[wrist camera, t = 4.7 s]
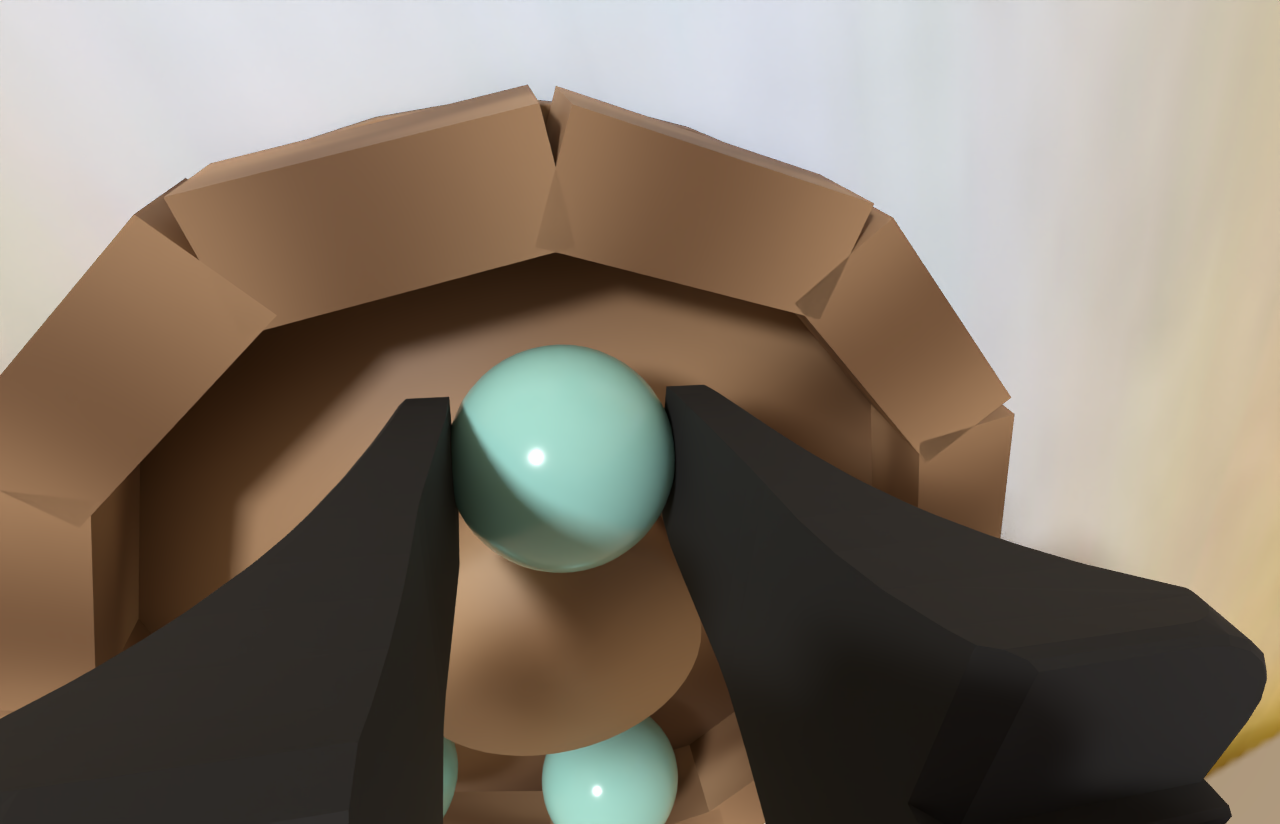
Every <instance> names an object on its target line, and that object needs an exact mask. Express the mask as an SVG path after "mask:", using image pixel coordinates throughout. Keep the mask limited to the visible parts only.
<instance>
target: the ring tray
mask: <svg viewBox="0 0 1280 824" xmlns="http://www.w3.org/2000/svg"><path fill="white" fill-rule="evenodd" d="M873 205H874V203H872V202H870V201H868V200H866V199H864V198H863V197H861V196H859V195H857V194H855V193H853V192H851V191H850V190H848V189H846V188H844V187H842V186H840V185H838V184H837V183H835V182H833V181H831V180H829V179H827V178H825V177H824V176H822V175H820V174H817V173H814V172H811V171H808V170H805V169H802V168H799V167H796V166H793V165H790V164H787V163H784V162H781V161H778V160H775V159H772V158H769V157H766V156H763V155H760V154H757V153H754V152H751V151H748V150H745V149H742V148H739V147H736V146H733V145H730V144H727V143H724V142H722V141H720V140H717V139H715V138H713V137H710V136H708V135H705V134H703V133H701V132H698V131H696V130H694V129H691V128H689V127H686V126H682V125H678V124H674V123H670V122H666V121H662V120H658V119H655V118H651V117H647V116H644V115H641V114H638V113H635V112H632V111H629V110H626V109H623V108H620V107H617V106H614V105H611V104H608V103H605V102H602V101H599V100H596V99H593V98H590V97H587V96H584V95H581V94H578V93H576V92H573V91H570V90H567V89H564V88H561V87H558V86H556V88H555V92H554V96H553V100H552V102H551V101H541V100H537V99H536V97H535V95H534V94H533V92H532V91H531V89H530V88H529V86H528V85H525V86H520V87H516V88H512V89H508V90H504V91H500V92H496V93H492V94H488V95H484V96H480V97H476V98H472V99H468V100H464V101H460V102H456V103H452V104H448V105H442V106H436V107H430V108H425V109H419V110H413V111H407V112H402V113H396V114H390V115H384V116H379V117H374V118H371V119H368V120H365V121H362V122H359V123H356V124H353V125H350V126H346V127H343V128H340V129H337V130H334V131H331V132H328V133H325V134H322V135H319V136H316V137H313V138H310V139H307V140H303V141H299V142H295V143H291V144H287V145H283V146H279V147H275V148H271V149H267V150H263V151H259V152H255V153H251V154H247V155H243V156H239V157H235V158H231V159H227V160H223V161H219V162H215V163H211V164H209V165H208V166H206V167H205V168H204V169H202V170H201V171H199V172H198V173H197V174H195V175H194V176H192V177H191V178H190V179H186V178H185V179H184V180H182V181H181V182H179V183H178V184H177V185H175V186H174V187H172V188H171V189H169V190H168V191H167V192H165V193H164V194H162V195H161V196H160V197H158V198H157V199H155V200H154V201H152V202H151V203H150V204H148V205H147V206H145V207H144V208H142V209H141V210H140V211H138V212H137V213H135V214H134V215H133V216H132V217H131V219H130V220H129V221H128V222H127V223H126V225H125V226H124V227H123V228H122V230H121V231H120V232H119V233H118V234H117V236H116V237H115V238H114V239H113V240H112V242H111V243H110V244H109V245H108V246H107V248H106V249H105V250H104V251H103V252H102V254H101V255H100V256H99V257H98V258H97V260H96V261H95V262H94V263H93V264H92V266H91V267H90V268H89V269H88V270H87V272H86V273H85V274H84V275H83V276H82V278H81V279H80V280H79V281H78V282H77V284H76V285H75V286H74V287H73V288H72V290H71V291H70V292H69V293H68V295H67V296H66V297H65V298H64V299H63V301H62V302H61V303H60V304H59V305H58V307H57V308H56V309H55V310H54V311H53V313H52V314H51V315H50V316H49V317H48V319H47V320H46V321H45V322H44V323H43V325H42V326H41V327H40V328H39V329H38V331H37V332H36V333H35V334H34V335H33V337H32V338H31V339H30V340H29V341H28V343H27V344H26V345H25V346H24V347H23V349H22V350H21V351H20V352H19V353H18V355H17V356H16V357H15V358H14V359H13V361H12V362H11V363H10V364H9V366H8V367H7V368H6V369H5V370H4V372H3V373H2V374H1V375H0V718H2V717H4V716H6V715H8V714H10V713H12V712H14V711H16V710H18V709H20V708H22V707H23V706H25V705H27V704H29V703H31V702H33V701H35V700H37V699H39V698H41V697H43V696H45V695H46V694H48V693H50V692H52V691H54V690H56V689H58V688H60V687H62V686H64V685H66V684H67V683H69V682H71V681H73V680H75V679H76V678H78V677H80V676H82V675H83V674H85V673H87V672H89V671H91V670H92V669H94V668H96V667H98V666H99V665H101V664H103V663H104V662H106V661H108V660H109V659H111V658H113V657H114V656H116V655H118V654H119V653H121V652H123V651H124V650H126V649H128V648H130V647H131V646H133V645H135V644H136V643H138V642H140V641H141V640H143V639H144V638H146V637H148V636H149V635H151V634H152V633H154V632H155V631H157V630H159V629H160V628H162V627H163V626H165V625H166V624H168V623H170V622H171V621H173V620H174V619H176V618H177V617H179V616H180V615H182V614H183V613H185V612H186V611H188V610H189V609H191V608H192V607H193V606H195V605H196V604H198V603H199V602H200V601H202V600H203V599H204V598H206V597H207V596H209V595H210V594H211V593H213V592H214V591H216V590H217V589H218V588H220V587H221V586H223V585H224V584H225V583H227V582H228V581H229V580H231V579H232V578H234V577H235V576H236V575H238V574H239V573H241V572H242V571H243V570H245V569H246V568H247V567H249V566H250V565H251V564H253V563H254V562H255V561H256V560H258V559H259V558H260V557H261V556H263V555H264V554H265V553H266V552H267V551H268V550H270V549H271V548H272V547H273V546H274V545H276V544H277V543H278V542H279V541H280V540H282V539H283V538H284V537H285V536H286V535H287V534H288V533H289V532H290V531H292V530H293V529H294V528H295V527H296V526H297V525H298V524H299V523H300V522H301V521H302V520H303V519H304V518H305V517H306V516H307V515H308V514H309V513H310V512H311V511H312V510H313V509H314V508H315V507H316V506H317V505H318V504H319V503H320V502H321V501H322V500H323V499H324V497H325V496H326V495H327V494H328V493H329V492H330V491H331V490H332V489H333V488H334V487H335V486H336V485H337V484H338V483H339V482H340V481H341V479H342V478H343V477H344V476H345V475H346V474H347V472H348V471H349V470H350V469H351V468H352V466H353V465H354V464H355V463H356V462H357V460H358V459H359V458H360V457H361V456H362V454H363V453H364V452H365V451H366V450H367V448H368V447H369V446H370V445H371V443H372V442H373V441H374V439H375V438H376V437H377V435H378V434H379V433H380V431H381V430H382V429H383V427H384V426H385V425H386V423H387V422H388V420H389V419H390V418H391V416H392V415H393V413H394V412H395V410H396V409H397V408H398V406H399V405H400V404H401V403H402V402H403V401H404V400H405V399H411V398H432V397H449V399H450V411H451V423H452V422H453V419H454V417H455V415H456V412H457V410H458V408H459V406H460V404H461V402H462V400H463V399H464V398H465V396H466V395H467V393H468V392H469V390H470V389H471V388H472V387H473V386H474V384H475V383H476V382H477V381H478V380H479V379H480V378H481V377H482V376H483V375H484V374H485V373H486V372H487V371H489V370H490V369H491V368H492V367H494V366H495V365H497V364H498V363H500V362H501V361H503V360H504V359H506V358H509V357H511V356H513V355H515V354H517V353H520V352H522V351H525V350H528V349H532V348H536V347H541V346H547V345H557V344H560V345H577V346H584V347H588V348H592V349H595V350H599V351H601V352H604V353H606V354H608V355H611V356H613V357H615V358H617V359H618V360H620V361H622V362H623V363H625V364H627V365H628V366H629V367H630V368H632V369H633V370H634V371H636V372H637V373H638V374H639V375H640V376H641V377H642V378H643V379H644V380H645V381H646V382H647V383H648V384H649V385H650V387H651V388H652V389H653V391H654V392H655V394H656V395H657V397H658V398H659V400H660V401H661V403H662V405H663V407H665V396H666V386H685V385H706V386H708V387H709V388H711V389H713V390H715V391H716V392H718V393H720V394H721V395H723V396H724V397H726V398H727V399H729V400H730V401H732V402H733V403H735V404H736V405H738V406H739V407H741V408H742V409H744V410H745V411H747V412H748V413H750V414H751V415H753V416H754V417H756V418H757V419H759V420H760V421H762V422H763V423H765V424H766V425H768V426H769V427H771V428H772V429H774V430H775V431H777V432H778V433H780V434H782V435H783V436H785V437H786V438H788V439H789V440H791V441H793V442H794V443H796V444H797V445H799V446H801V447H802V448H804V449H805V450H807V451H809V452H810V453H812V454H814V455H815V456H817V457H819V458H821V459H822V460H824V461H826V462H828V463H829V464H831V465H833V466H835V467H836V468H838V469H840V470H842V471H844V472H845V473H847V474H849V475H851V476H853V477H855V478H856V479H858V480H860V481H862V482H864V483H866V484H868V485H870V486H872V487H874V488H877V489H879V490H881V491H883V492H885V493H887V494H889V495H891V496H894V497H896V498H898V499H900V500H902V501H904V502H906V503H908V504H911V505H913V506H915V507H918V508H920V509H923V510H925V511H927V512H930V513H932V514H934V515H937V516H940V517H942V518H945V519H948V520H950V521H953V522H955V523H958V524H961V525H963V526H966V527H969V528H971V529H974V530H977V531H979V532H982V533H985V534H988V535H991V536H994V537H997V538H1000V536H1001V527H1002V518H1003V510H1004V501H1005V492H1006V483H1007V474H1008V466H1009V457H1010V448H1011V439H1012V431H1013V422H1014V413H1012V412H1011V411H1010V410H1009V409H1007V408H1006V407H1005V406H1003V405H1002V404H1003V403H1005V402H1006V401H1007V400H1009V399H1010V398H1011V396H1010V395H1009V393H1008V392H1007V390H1006V389H1005V387H1004V386H1003V384H1002V383H1001V381H1000V380H999V378H998V377H997V375H996V374H995V372H994V371H993V369H992V368H991V366H990V365H989V363H988V361H987V360H986V358H985V357H984V355H983V354H982V352H981V351H980V349H979V348H978V346H977V345H976V343H975V342H974V340H973V339H972V337H971V336H970V334H969V333H968V331H967V330H966V328H965V326H964V325H963V323H962V322H961V320H960V319H959V317H958V316H957V314H956V313H955V311H954V310H953V308H952V307H951V305H950V304H949V302H948V301H947V299H946V298H945V296H944V295H943V293H942V292H941V290H940V288H939V287H938V285H937V284H936V282H935V281H934V279H933V278H932V276H931V275H930V273H929V272H928V270H927V269H926V267H925V266H924V264H923V263H922V261H921V260H920V258H919V257H918V255H917V253H916V252H915V250H914V249H913V247H912V246H911V244H910V243H909V241H908V240H907V238H906V237H905V235H904V234H903V232H902V231H901V229H900V228H899V226H898V225H897V223H896V222H895V220H894V218H893V217H891V216H889V215H887V214H885V213H883V212H882V211H880V210H878V209H876V208H874V207H873ZM459 554H460V567H459V577H458V587H457V596H456V606H455V615H454V625H453V634H452V643H451V653H450V662H449V671H448V680H447V690H446V700H445V716H444V738H446V739H448V740H450V741H452V742H454V743H455V747H456V751H457V756H458V777H457V783H456V788H455V792H454V796H453V798H452V801H451V804H450V806H449V808H448V810H447V812H446V814H445V816H444V818H443V824H554V823H553V822H552V820H551V818H550V816H549V814H548V811H547V808H546V805H545V802H544V797H543V791H542V772H543V764H544V760H545V756H546V754H555V753H561V752H566V751H571V750H576V749H579V748H583V747H587V746H590V745H593V744H596V743H599V742H601V741H604V740H607V739H609V738H612V737H614V736H616V735H618V734H620V733H622V732H625V731H626V730H628V729H630V728H632V727H633V726H635V725H637V724H639V723H640V722H642V721H643V720H645V719H646V718H647V717H649V716H650V717H651V718H652V719H653V720H654V721H655V722H656V723H657V724H658V725H659V726H660V727H661V729H662V730H663V731H664V733H665V734H666V736H667V737H668V739H669V741H670V743H671V746H672V748H673V751H674V754H675V758H676V763H677V769H678V786H677V793H676V798H675V802H674V805H673V808H672V811H671V813H670V815H669V817H668V819H667V821H666V822H665V824H764V823H765V819H764V815H763V812H762V808H761V804H760V801H759V797H758V793H757V790H756V786H755V782H754V779H753V775H752V771H751V768H750V764H749V760H748V757H747V753H746V749H745V746H744V743H743V739H742V736H741V732H740V729H739V726H738V722H737V719H736V715H735V712H734V709H733V705H732V702H731V698H730V695H729V692H728V688H727V686H726V683H725V680H724V677H723V675H722V672H721V669H720V666H719V663H718V661H717V658H716V656H715V654H714V651H713V649H712V646H711V644H710V642H709V639H708V637H707V634H706V632H705V630H704V627H703V625H702V622H701V620H700V617H699V615H698V613H697V610H696V608H695V605H694V603H693V601H692V598H691V596H690V593H689V591H688V589H687V586H686V584H685V581H684V579H683V576H682V574H681V571H680V569H679V566H678V564H677V562H676V559H675V557H674V554H673V551H672V549H671V546H670V543H669V539H668V536H667V532H666V528H665V525H664V521H663V517H662V513H661V515H660V516H659V518H658V519H657V521H656V522H655V524H654V525H653V526H652V528H651V529H650V530H649V532H648V533H647V534H646V535H645V536H644V537H643V538H642V539H641V540H640V541H639V542H638V543H637V544H636V545H635V546H633V547H632V548H631V549H629V550H628V551H627V552H625V553H624V554H622V555H621V556H619V557H617V558H616V559H614V560H612V561H610V562H608V563H606V564H603V565H601V566H598V567H595V568H591V569H588V570H584V571H577V572H568V573H553V572H544V571H537V570H533V569H529V568H525V567H522V566H520V565H517V564H515V563H513V562H511V561H509V560H507V559H505V558H503V557H501V556H499V555H498V554H496V553H495V552H494V551H492V550H491V549H489V548H488V547H487V546H486V545H485V544H484V543H483V542H482V541H481V540H480V539H479V538H478V537H477V536H476V535H474V533H473V532H472V531H471V529H470V528H469V527H468V526H467V524H466V523H465V521H464V519H463V518H462V516H461V514H460V512H459Z"/></svg>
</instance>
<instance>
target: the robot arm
mask: <svg viewBox="0 0 1280 824" xmlns="http://www.w3.org/2000/svg"><path fill="white" fill-rule="evenodd" d="M664 409H665V411H666V413H667V416H668V419H669V422H670V425H671V429H672V434H673V439H674V449H675V472H674V479H673V484H672V488H671V491H670V494H669V497H668V499H667V502H666V505H665V507H664V509H663V511H662V517H663V521H664V525H665V528H666V532H667V536H668V539H669V543H670V546H671V549H672V551H673V554H674V557H675V559H676V562H677V564H678V566H679V569H680V571H681V574H682V576H683V579H684V581H685V584H686V586H687V589H688V591H689V593H690V596H691V598H692V601H693V603H694V605H695V608H696V610H697V613H698V615H699V617H700V620H701V622H702V625H703V627H704V630H705V632H706V634H707V637H708V639H709V642H710V644H711V646H712V649H713V651H714V654H715V656H716V658H717V661H718V663H719V666H720V669H721V672H722V675H723V677H724V680H725V683H726V686H727V688H728V692H729V695H730V698H731V702H732V705H733V709H734V712H735V715H736V719H737V722H738V726H739V729H740V732H741V736H742V739H743V743H744V746H745V749H746V753H747V757H748V760H749V764H750V768H751V771H752V775H753V779H754V782H755V786H756V790H757V793H758V797H759V801H760V804H761V808H762V812H763V815H764V819H765V823H766V824H1225V823H1226V822H1227V821H1228V820H1229V819H1230V817H1232V816H1231V811H1230V808H1229V805H1228V804H1227V803H1226V802H1225V801H1224V800H1223V799H1222V798H1221V797H1220V796H1219V795H1218V794H1217V793H1216V791H1215V790H1214V789H1213V788H1212V787H1211V786H1210V785H1209V784H1208V783H1207V782H1206V781H1205V780H1204V777H1205V776H1206V775H1207V773H1208V772H1209V771H1210V769H1211V768H1212V767H1213V765H1214V764H1215V763H1216V762H1217V760H1218V759H1219V758H1220V756H1221V755H1222V754H1223V752H1224V751H1225V750H1226V749H1227V747H1228V746H1229V745H1230V743H1231V742H1232V741H1233V739H1234V738H1235V737H1236V736H1237V734H1238V733H1239V732H1240V730H1241V729H1242V728H1243V727H1244V725H1245V724H1246V723H1247V721H1248V720H1249V718H1250V716H1251V715H1252V713H1253V712H1254V710H1255V708H1256V707H1257V705H1258V704H1259V702H1260V701H1261V698H1262V694H1263V691H1264V687H1265V684H1266V681H1267V671H1266V665H1265V659H1264V653H1263V652H1262V651H1261V650H1260V649H1259V648H1258V647H1257V646H1256V645H1255V644H1254V643H1253V642H1252V641H1251V640H1249V639H1248V638H1247V637H1246V636H1245V635H1244V634H1242V633H1241V632H1240V631H1239V630H1238V629H1237V628H1235V627H1234V626H1233V625H1232V624H1231V623H1229V622H1228V621H1227V620H1226V619H1225V618H1224V617H1222V616H1221V615H1220V614H1219V613H1218V612H1216V611H1215V610H1214V609H1213V608H1212V607H1211V606H1209V605H1208V604H1207V603H1206V602H1205V601H1203V600H1202V599H1201V598H1200V597H1199V596H1198V595H1196V594H1195V593H1194V592H1192V591H1191V590H1189V589H1187V588H1184V587H1180V586H1176V585H1171V584H1167V583H1163V582H1159V581H1154V580H1150V579H1146V578H1141V577H1137V576H1133V575H1129V574H1124V573H1120V572H1116V571H1112V570H1107V569H1103V568H1099V567H1094V566H1090V565H1086V564H1082V563H1079V562H1075V561H1071V560H1068V559H1065V558H1061V557H1058V556H1055V555H1051V554H1048V553H1044V552H1041V551H1038V550H1034V549H1031V548H1027V547H1024V546H1021V545H1018V544H1015V543H1012V542H1009V541H1006V540H1003V539H1000V538H997V537H994V536H991V535H988V534H985V533H982V532H979V531H977V530H974V529H971V528H969V527H966V526H963V525H961V524H958V523H955V522H953V521H950V520H948V519H945V518H942V517H940V516H937V515H934V514H932V513H930V512H927V511H925V510H923V509H920V508H918V507H915V506H913V505H911V504H908V503H906V502H904V501H902V500H900V499H898V498H896V497H894V496H891V495H889V494H887V493H885V492H883V491H881V490H879V489H877V488H874V487H872V486H870V485H868V484H866V483H864V482H862V481H860V480H858V479H856V478H855V477H853V476H851V475H849V474H847V473H845V472H844V471H842V470H840V469H838V468H836V467H835V466H833V465H831V464H829V463H828V462H826V461H824V460H822V459H821V458H819V457H817V456H815V455H814V454H812V453H810V452H809V451H807V450H805V449H804V448H802V447H801V446H799V445H797V444H796V443H794V442H793V441H791V440H789V439H788V438H786V437H785V436H783V435H782V434H780V433H778V432H777V431H775V430H774V429H772V428H771V427H769V426H768V425H766V424H765V423H763V422H762V421H760V420H759V419H757V418H756V417H754V416H753V415H751V414H750V413H748V412H747V411H745V410H744V409H742V408H741V407H739V406H738V405H736V404H735V403H733V402H732V401H730V400H729V399H727V398H726V397H724V396H723V395H721V394H720V393H718V392H716V391H715V390H713V389H711V388H709V387H708V386H706V385H685V386H666V396H665V407H664ZM451 426H452V423H451V411H450V399H449V397H432V398H411V399H405V400H404V401H403V402H402V403H401V404H400V405H399V406H398V408H397V409H396V410H395V412H394V413H393V415H392V416H391V418H390V419H389V420H388V422H387V423H386V425H385V426H384V427H383V429H382V430H381V431H380V433H379V434H378V435H377V437H376V438H375V439H374V441H373V442H372V443H371V445H370V446H369V447H368V448H367V450H366V451H365V452H364V453H363V454H362V456H361V457H360V458H359V459H358V460H357V462H356V463H355V464H354V465H353V466H352V468H351V469H350V470H349V471H348V472H347V474H346V475H345V476H344V477H343V478H342V479H341V481H340V482H339V483H338V484H337V485H336V486H335V487H334V488H333V489H332V490H331V491H330V492H329V493H328V494H327V495H326V496H325V497H324V499H323V500H322V501H321V502H320V503H319V504H318V505H317V506H316V507H315V508H314V509H313V510H312V511H311V512H310V513H309V514H308V515H307V516H306V517H305V518H304V519H303V520H302V521H301V522H300V523H299V524H298V525H297V526H296V527H295V528H294V529H293V530H292V531H290V532H289V533H288V534H287V535H286V536H285V537H284V538H283V539H282V540H280V541H279V542H278V543H277V544H276V545H274V546H273V547H272V548H271V549H270V550H268V551H267V552H266V553H265V554H264V555H263V556H261V557H260V558H259V559H258V560H256V561H255V562H254V563H253V564H251V565H250V566H249V567H247V568H246V569H245V570H243V571H242V572H241V573H239V574H238V575H236V576H235V577H234V578H232V579H231V580H229V581H228V582H227V583H225V584H224V585H223V586H221V587H220V588H218V589H217V590H216V591H214V592H213V593H211V594H210V595H209V596H207V597H206V598H204V599H203V600H202V601H200V602H199V603H198V604H196V605H195V606H193V607H192V608H191V609H189V610H188V611H186V612H185V613H183V614H182V615H180V616H179V617H177V618H176V619H174V620H173V621H171V622H170V623H168V624H166V625H165V626H163V627H162V628H160V629H159V630H157V631H155V632H154V633H152V634H151V635H149V636H148V637H146V638H144V639H143V640H141V641H140V642H138V643H136V644H135V645H133V646H131V647H130V648H128V649H126V650H124V651H123V652H121V653H119V654H118V655H116V656H114V657H113V658H111V659H109V660H108V661H106V662H104V663H103V664H101V665H99V666H98V667H96V668H94V669H92V670H91V671H89V672H87V673H85V674H83V675H82V676H80V677H78V678H76V679H75V680H73V681H71V682H69V683H67V684H66V685H64V686H62V687H60V688H58V689H56V690H54V691H52V692H50V693H48V694H46V695H45V696H43V697H41V698H39V699H37V700H35V701H33V702H31V703H29V704H27V705H25V706H23V707H22V708H20V709H18V710H16V711H14V712H12V713H10V714H8V715H6V716H4V717H2V718H0V824H443V750H444V716H445V700H446V690H447V680H448V671H449V662H450V653H451V643H452V634H453V625H454V615H455V606H456V596H457V587H458V577H459V567H460V554H459V511H458V509H457V507H456V504H455V497H454V487H453V474H452V454H451Z"/></svg>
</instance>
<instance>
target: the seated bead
mask: <svg viewBox="0 0 1280 824" xmlns="http://www.w3.org/2000/svg"><path fill="white" fill-rule="evenodd" d="M677 786H678V769H677V763H676V758H675V754H674V751H673V748H672V746H671V743H670V741H669V739H668V737H667V736H666V734H665V733H664V731H663V730H662V729H661V727H660V726H659V725H658V724H657V723H656V722H655V721H654V720H653V719H652V718H651V717H650V716H649V717H647V718H646V719H645V720H643V721H642V722H640V723H639V724H637V725H635V726H633V727H632V728H630V729H628V730H626V731H625V732H622V733H620V734H618V735H616V736H614V737H612V738H609V739H607V740H604V741H601V742H599V743H596V744H593V745H590V746H587V747H583V748H579V749H576V750H571V751H566V752H561V753H555V754H546V756H545V760H544V764H543V772H542V791H543V797H544V802H545V805H546V808H547V811H548V814H549V816H550V818H551V820H552V822H553V823H554V824H665V822H666V821H667V819H668V817H669V815H670V813H671V811H672V808H673V805H674V802H675V798H676V793H677Z"/></svg>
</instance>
